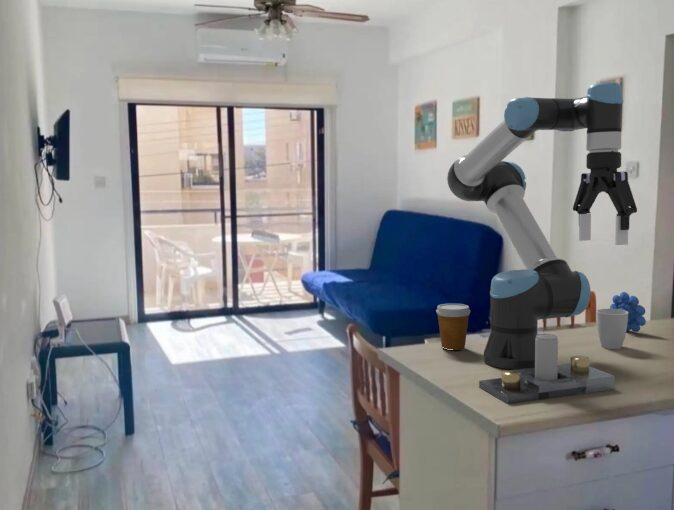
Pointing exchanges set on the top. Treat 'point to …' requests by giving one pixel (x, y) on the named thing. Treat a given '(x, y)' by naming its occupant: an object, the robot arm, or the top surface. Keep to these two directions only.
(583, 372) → the marble inkwell stand
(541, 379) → the beverage can
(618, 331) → the cup
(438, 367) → the top surface
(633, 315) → the grapes
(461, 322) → the disposable coffee cup
